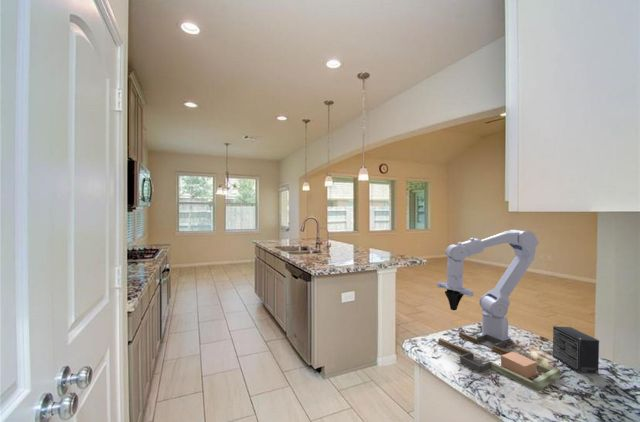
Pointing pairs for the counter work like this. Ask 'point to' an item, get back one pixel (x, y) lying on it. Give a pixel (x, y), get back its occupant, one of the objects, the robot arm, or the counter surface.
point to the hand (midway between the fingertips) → (453, 309)
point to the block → (519, 364)
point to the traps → (477, 365)
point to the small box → (576, 349)
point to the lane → (536, 384)
